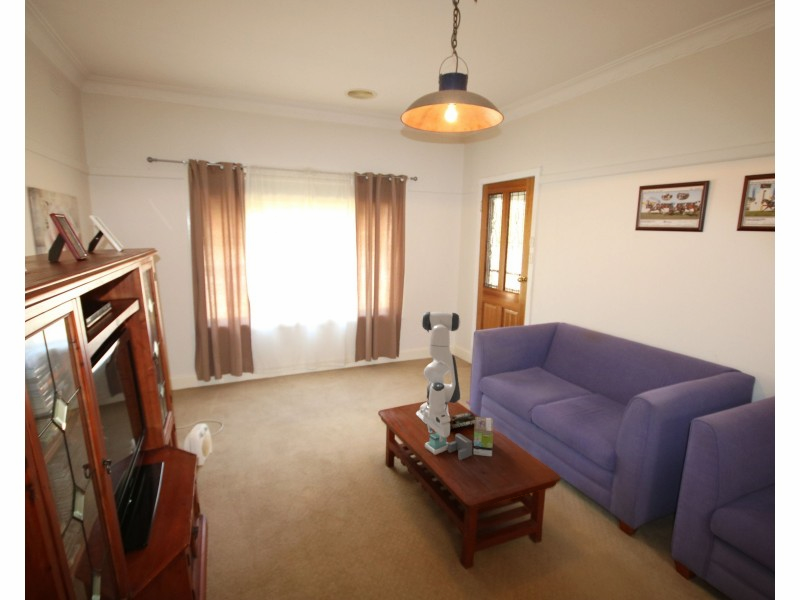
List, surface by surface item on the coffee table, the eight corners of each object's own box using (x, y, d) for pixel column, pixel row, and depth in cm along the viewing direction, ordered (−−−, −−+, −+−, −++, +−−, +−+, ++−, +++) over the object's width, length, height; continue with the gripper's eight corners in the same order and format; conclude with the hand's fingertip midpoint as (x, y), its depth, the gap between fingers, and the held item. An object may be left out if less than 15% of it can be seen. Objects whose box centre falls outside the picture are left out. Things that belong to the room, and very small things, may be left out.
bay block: (447, 451, 212) (448, 437, 211) (458, 446, 217) (459, 432, 215) (460, 460, 204) (461, 445, 203) (471, 455, 209) (472, 441, 207)
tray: (424, 447, 216) (424, 443, 215) (439, 441, 222) (439, 437, 221) (434, 454, 209) (435, 450, 208) (450, 448, 215) (450, 444, 214)
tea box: (492, 457, 207) (493, 431, 204) (473, 454, 209) (474, 429, 206) (491, 442, 222) (493, 417, 219) (473, 440, 224) (474, 415, 221)
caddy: (429, 446, 215) (429, 434, 214) (440, 442, 219) (440, 430, 218) (434, 450, 211) (435, 438, 210) (446, 446, 216) (446, 434, 214)
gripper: (420, 406, 219) (419, 429, 221) (442, 422, 201) (441, 447, 204) (430, 403, 222) (429, 426, 225) (452, 420, 205) (451, 444, 207)
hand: (435, 436), depth 214 cm, fingers open, 8 cm apart
